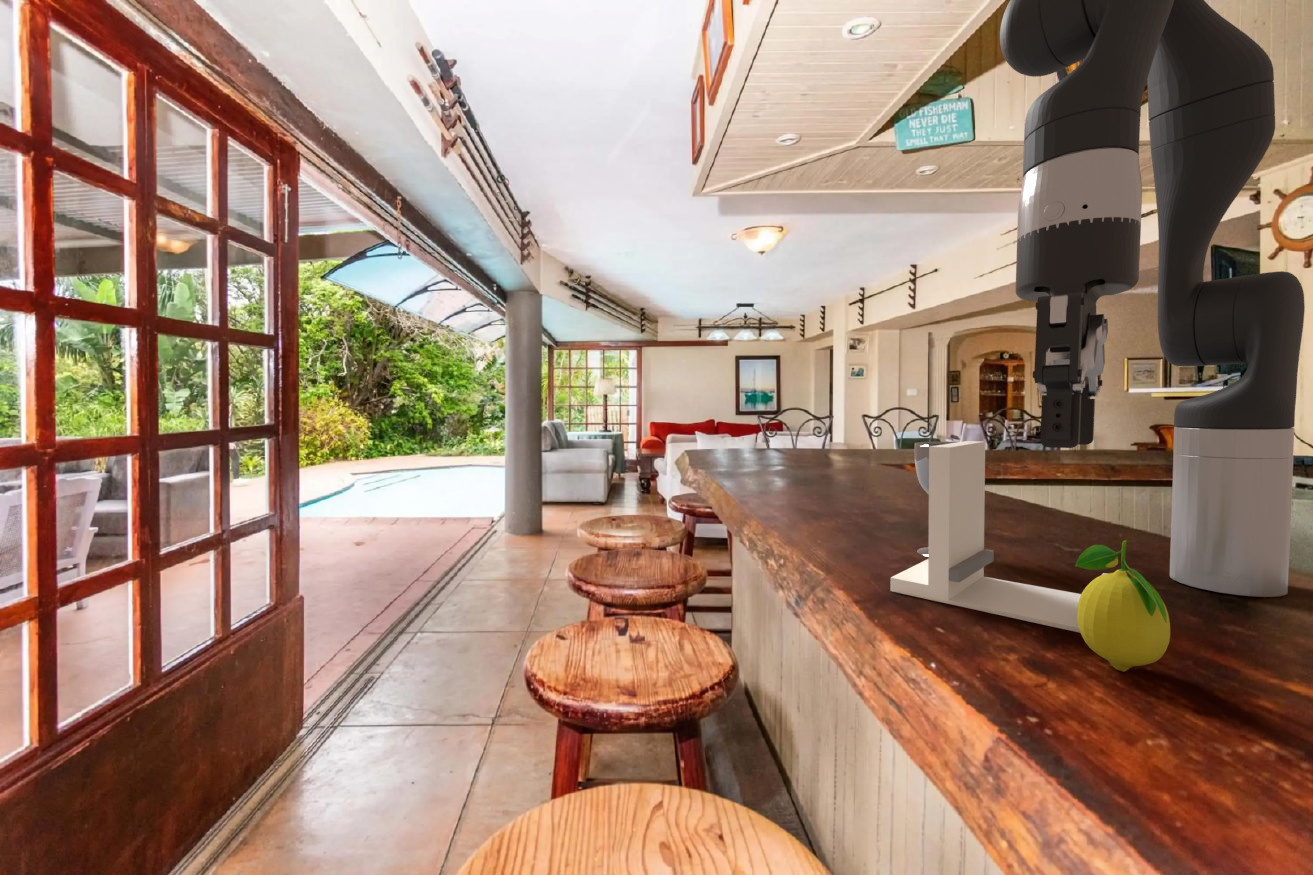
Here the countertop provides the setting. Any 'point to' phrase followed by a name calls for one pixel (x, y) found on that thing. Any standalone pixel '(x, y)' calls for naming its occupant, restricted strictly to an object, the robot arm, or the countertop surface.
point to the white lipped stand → (973, 548)
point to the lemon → (1121, 612)
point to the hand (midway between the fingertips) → (1068, 445)
